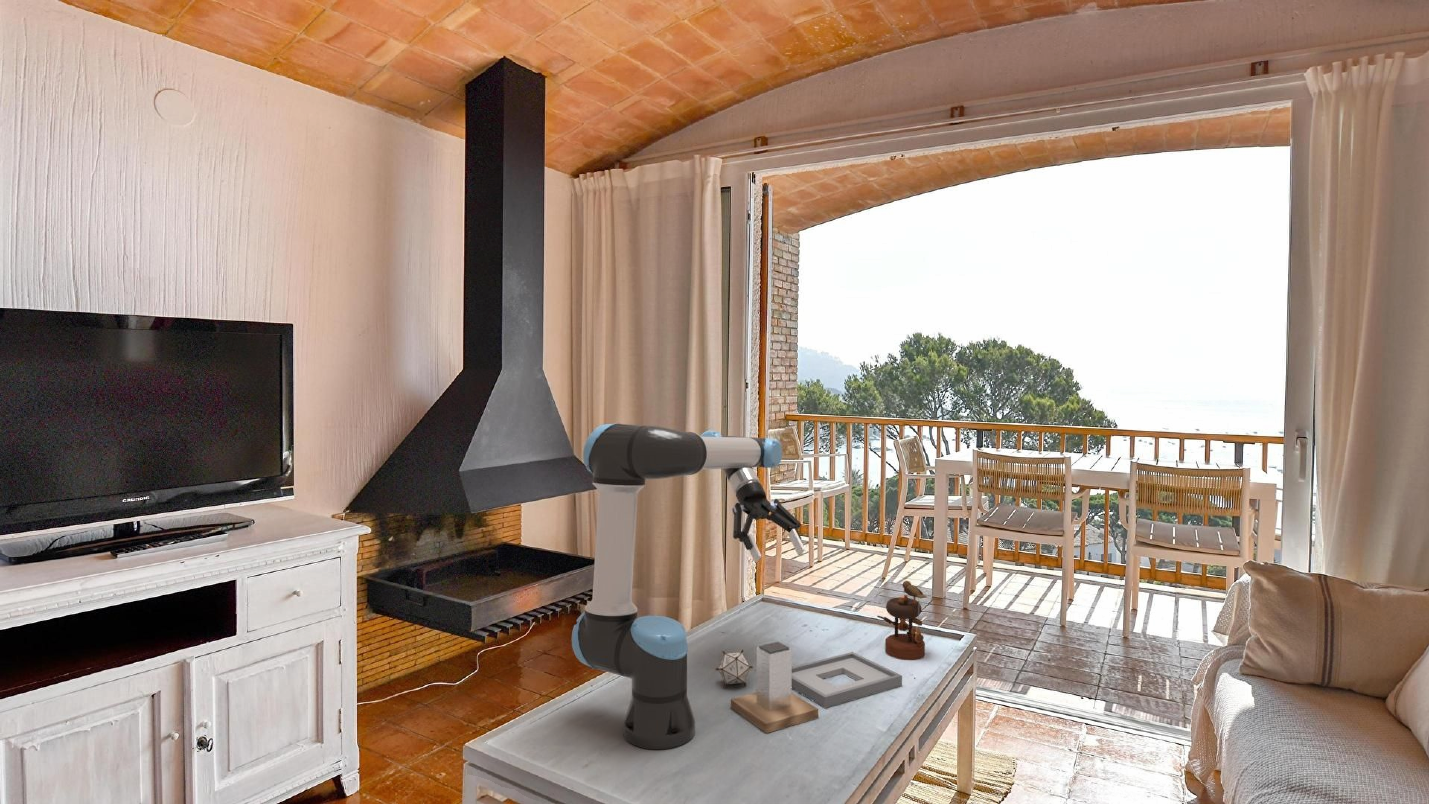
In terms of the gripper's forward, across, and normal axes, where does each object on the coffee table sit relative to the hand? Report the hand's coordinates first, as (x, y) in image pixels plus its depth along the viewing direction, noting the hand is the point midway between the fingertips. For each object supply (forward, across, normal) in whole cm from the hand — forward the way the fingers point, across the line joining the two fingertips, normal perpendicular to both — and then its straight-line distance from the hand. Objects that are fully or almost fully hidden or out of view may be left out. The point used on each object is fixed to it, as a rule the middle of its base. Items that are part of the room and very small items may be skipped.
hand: (780, 556), depth 191 cm
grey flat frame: (+30, -8, -12) cm, 34 cm away
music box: (+26, -37, -17) cm, 48 cm away
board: (+34, +15, -8) cm, 38 cm away
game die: (+22, +14, -21) cm, 33 cm away
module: (+32, +15, -7) cm, 36 cm away
